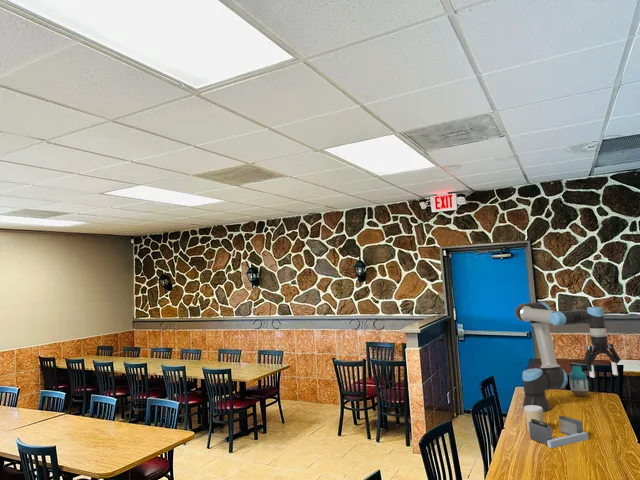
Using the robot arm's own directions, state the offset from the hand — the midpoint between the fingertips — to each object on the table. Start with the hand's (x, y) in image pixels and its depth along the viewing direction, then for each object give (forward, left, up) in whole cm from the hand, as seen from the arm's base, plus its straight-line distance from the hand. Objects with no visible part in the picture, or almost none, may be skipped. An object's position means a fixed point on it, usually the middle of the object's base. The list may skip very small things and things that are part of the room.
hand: (603, 376), depth 232 cm
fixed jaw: (0, -27, -26) cm, 38 cm away
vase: (-51, +39, -26) cm, 69 cm away
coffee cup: (-14, -37, -26) cm, 47 cm away
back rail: (+7, -38, -26) cm, 46 cm away
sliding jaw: (0, -47, -26) cm, 54 cm away
